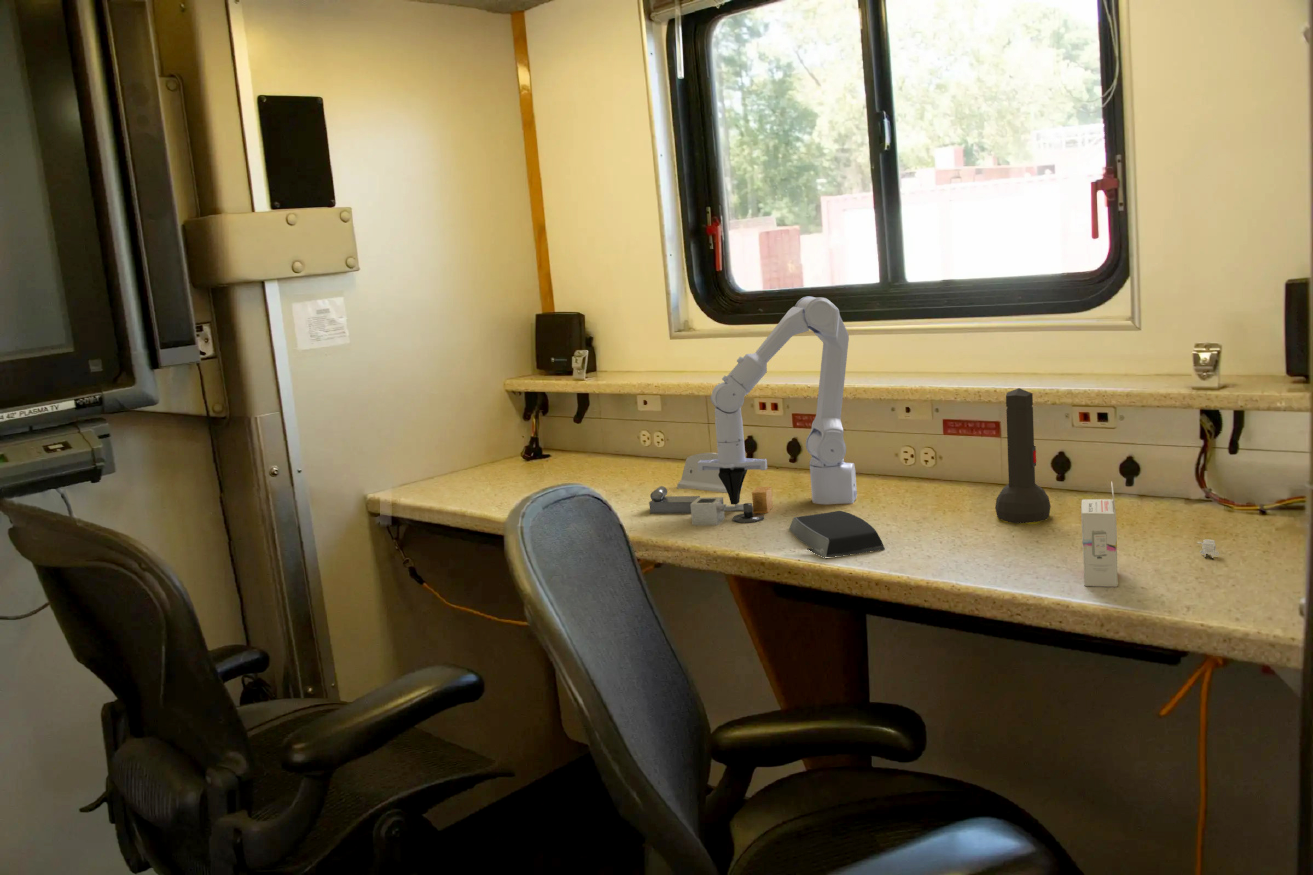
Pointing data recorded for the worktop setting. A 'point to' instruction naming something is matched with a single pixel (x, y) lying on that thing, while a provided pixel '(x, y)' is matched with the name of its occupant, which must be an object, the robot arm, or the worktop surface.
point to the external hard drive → (836, 534)
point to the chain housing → (670, 503)
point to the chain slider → (757, 501)
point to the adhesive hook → (1209, 548)
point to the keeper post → (748, 515)
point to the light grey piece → (701, 475)
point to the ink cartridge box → (1099, 541)
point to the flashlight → (1021, 465)
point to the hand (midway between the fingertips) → (735, 503)
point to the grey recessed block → (707, 511)
